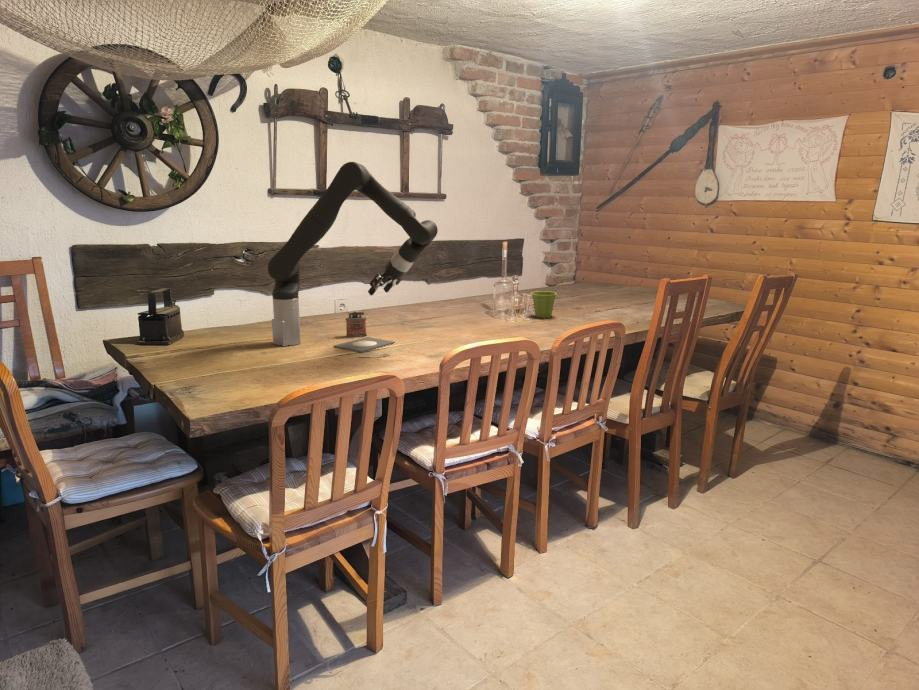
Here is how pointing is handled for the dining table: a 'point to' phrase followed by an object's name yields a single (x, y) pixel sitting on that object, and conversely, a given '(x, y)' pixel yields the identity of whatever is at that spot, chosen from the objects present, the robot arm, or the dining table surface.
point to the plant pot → (543, 303)
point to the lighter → (356, 325)
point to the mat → (363, 344)
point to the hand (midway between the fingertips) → (377, 292)
